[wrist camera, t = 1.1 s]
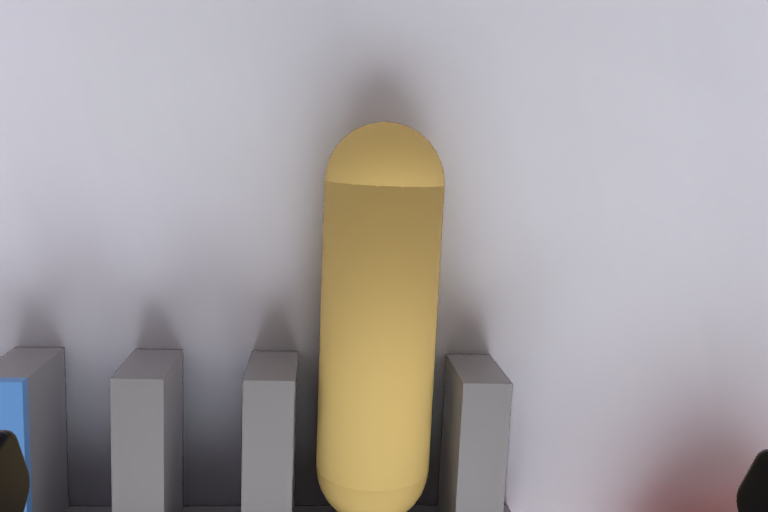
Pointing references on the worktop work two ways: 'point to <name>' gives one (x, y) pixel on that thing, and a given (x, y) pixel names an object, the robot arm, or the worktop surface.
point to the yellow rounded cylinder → (378, 318)
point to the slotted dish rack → (259, 432)
